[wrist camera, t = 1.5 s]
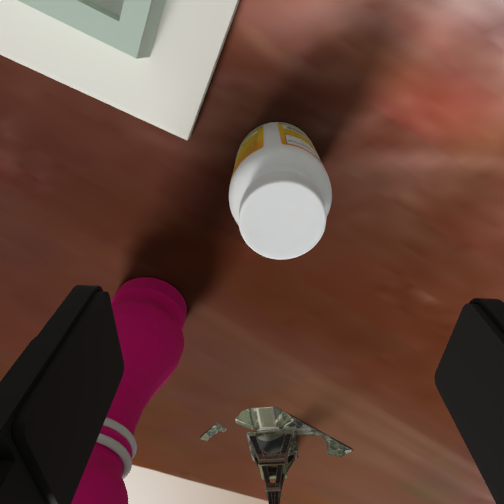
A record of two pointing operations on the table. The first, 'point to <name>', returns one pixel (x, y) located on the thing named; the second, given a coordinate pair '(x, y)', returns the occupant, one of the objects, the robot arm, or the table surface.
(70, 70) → the cup holder
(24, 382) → the robot arm
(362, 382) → the table surface
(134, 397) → the pepper mill
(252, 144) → the supplement bottle
